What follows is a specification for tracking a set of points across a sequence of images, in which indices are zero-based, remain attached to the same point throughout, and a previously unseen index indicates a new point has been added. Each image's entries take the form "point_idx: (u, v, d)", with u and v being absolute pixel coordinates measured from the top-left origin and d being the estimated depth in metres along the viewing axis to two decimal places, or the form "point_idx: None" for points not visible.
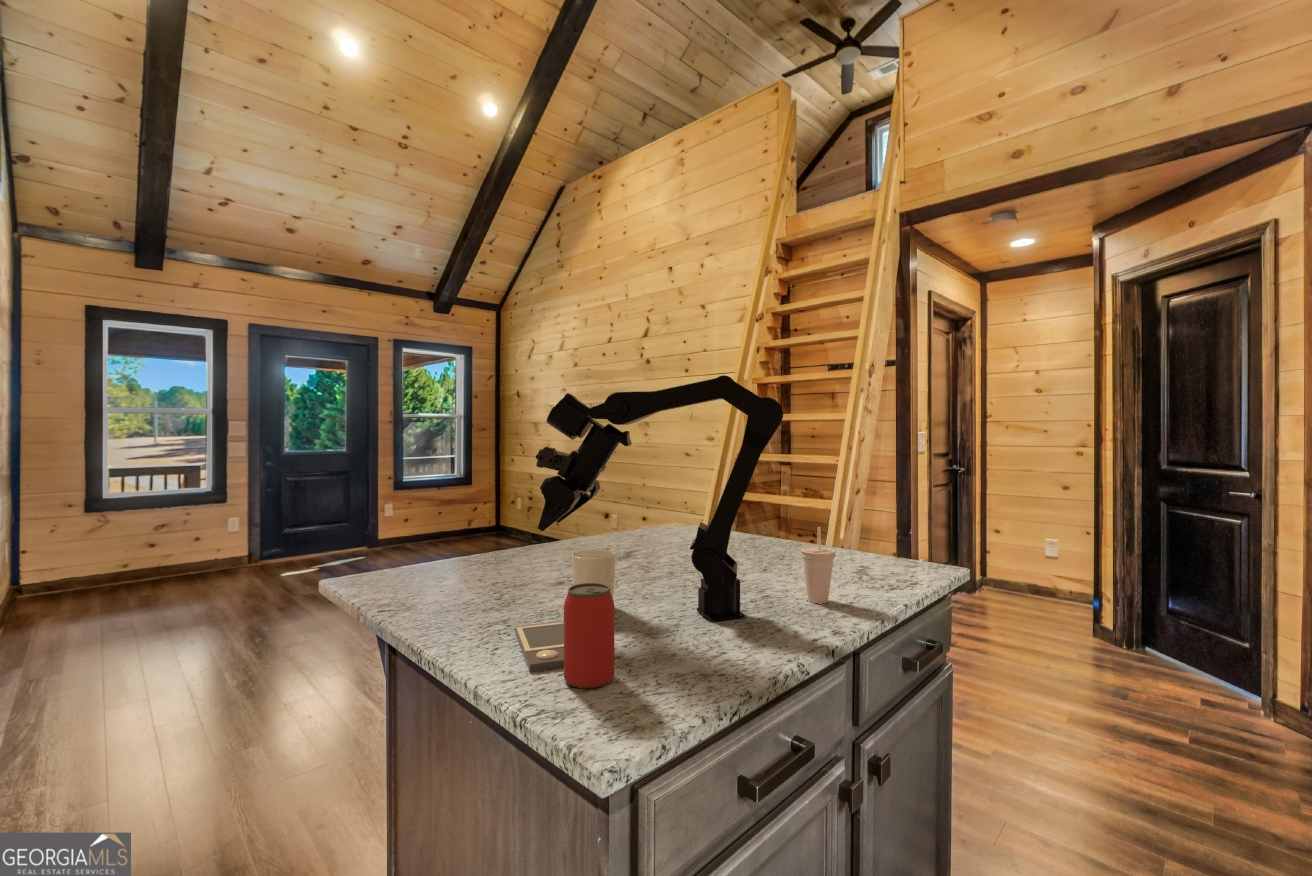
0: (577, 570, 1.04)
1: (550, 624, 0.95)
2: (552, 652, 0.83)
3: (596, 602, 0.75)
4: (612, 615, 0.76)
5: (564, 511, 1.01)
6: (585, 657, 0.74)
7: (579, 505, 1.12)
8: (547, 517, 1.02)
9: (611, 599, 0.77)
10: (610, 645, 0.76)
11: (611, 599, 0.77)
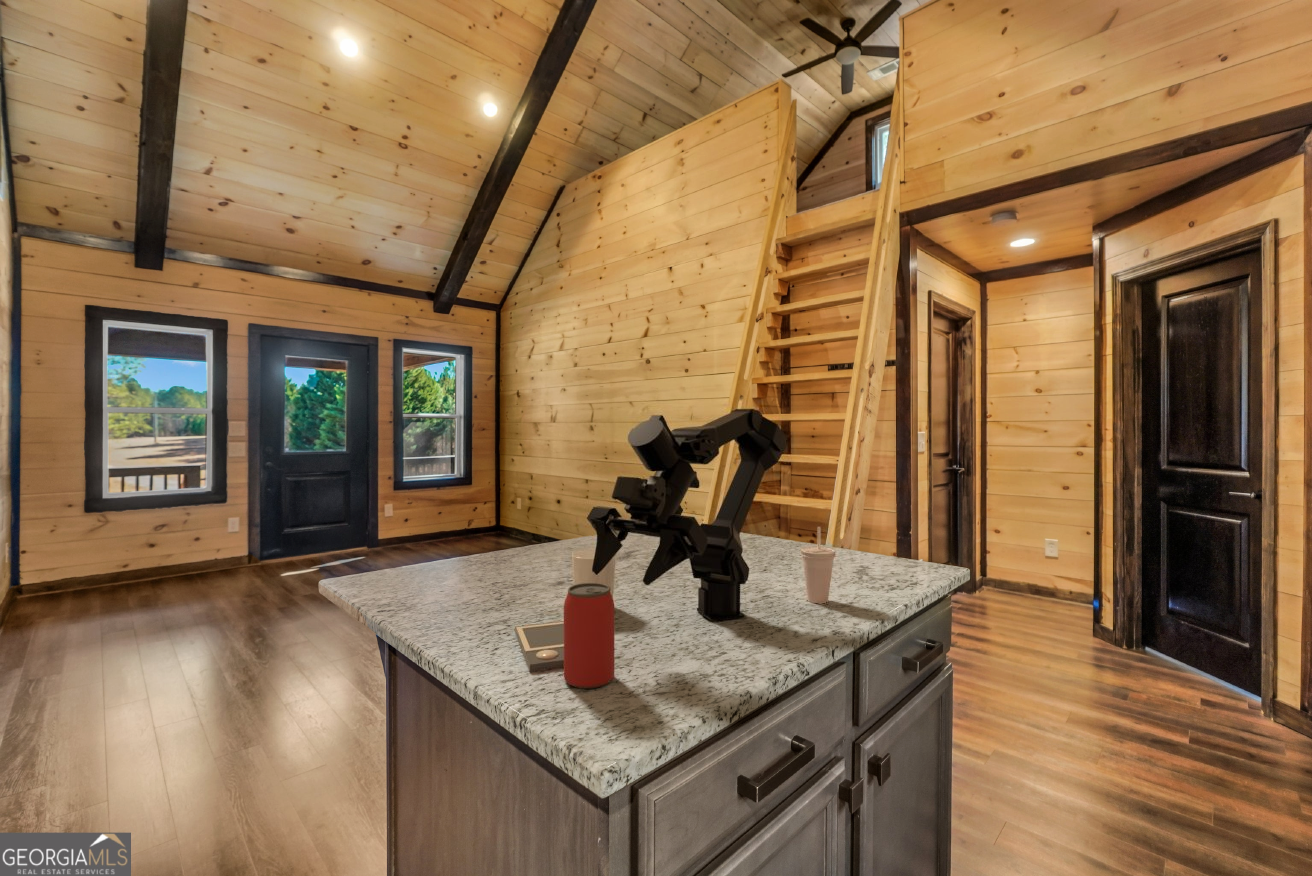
0: (577, 570, 1.04)
1: (550, 624, 0.95)
2: (552, 652, 0.83)
3: (596, 602, 0.75)
4: (612, 615, 0.76)
5: (681, 559, 0.82)
6: (585, 657, 0.74)
7: (615, 552, 0.89)
8: (660, 567, 0.80)
9: (611, 599, 0.77)
10: (610, 645, 0.76)
11: (611, 599, 0.77)
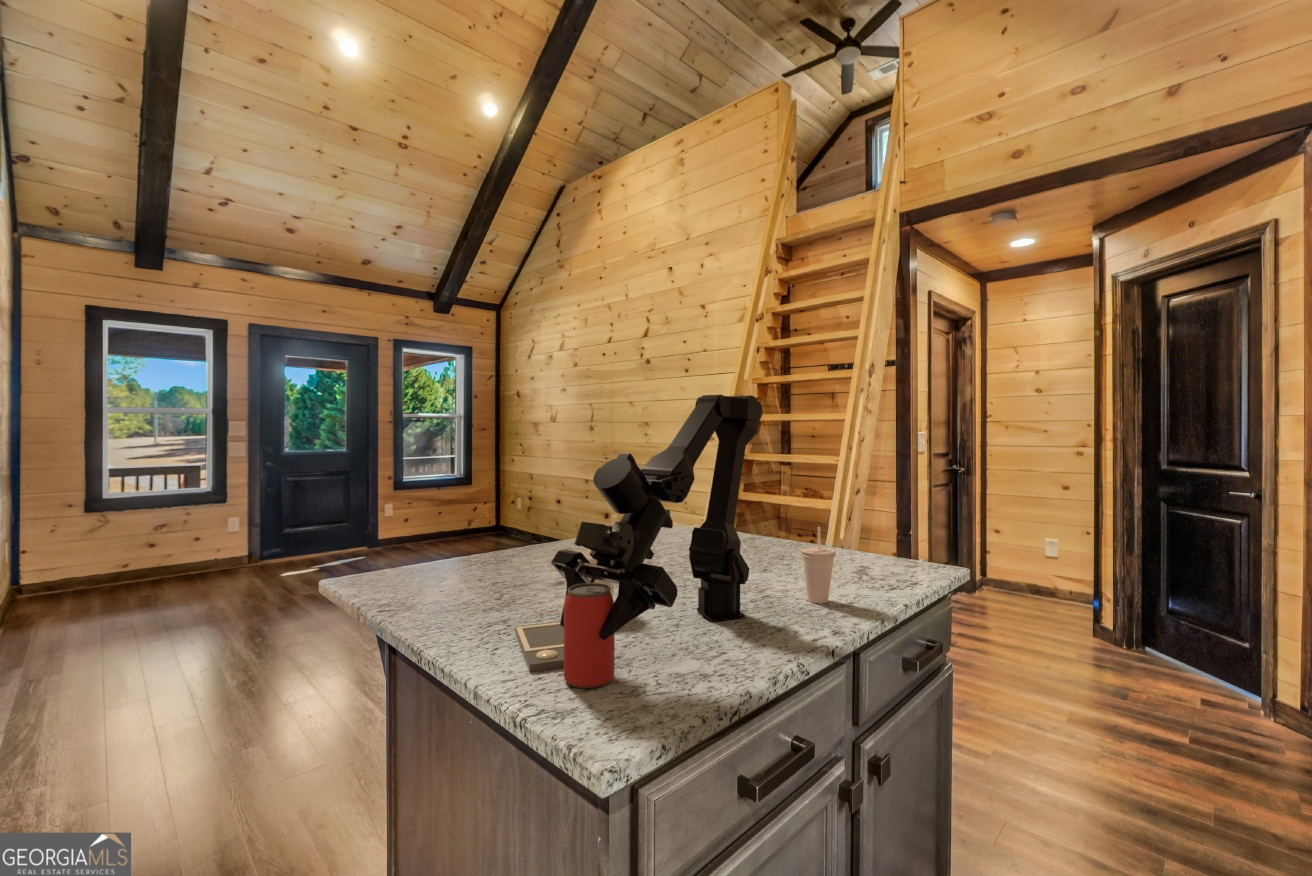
0: None
1: (550, 624, 0.95)
2: (552, 652, 0.83)
3: (596, 601, 0.75)
4: None
5: (642, 610, 0.77)
6: (585, 657, 0.74)
7: None
8: (619, 619, 0.75)
9: (611, 599, 0.77)
10: (610, 645, 0.76)
11: (611, 599, 0.77)
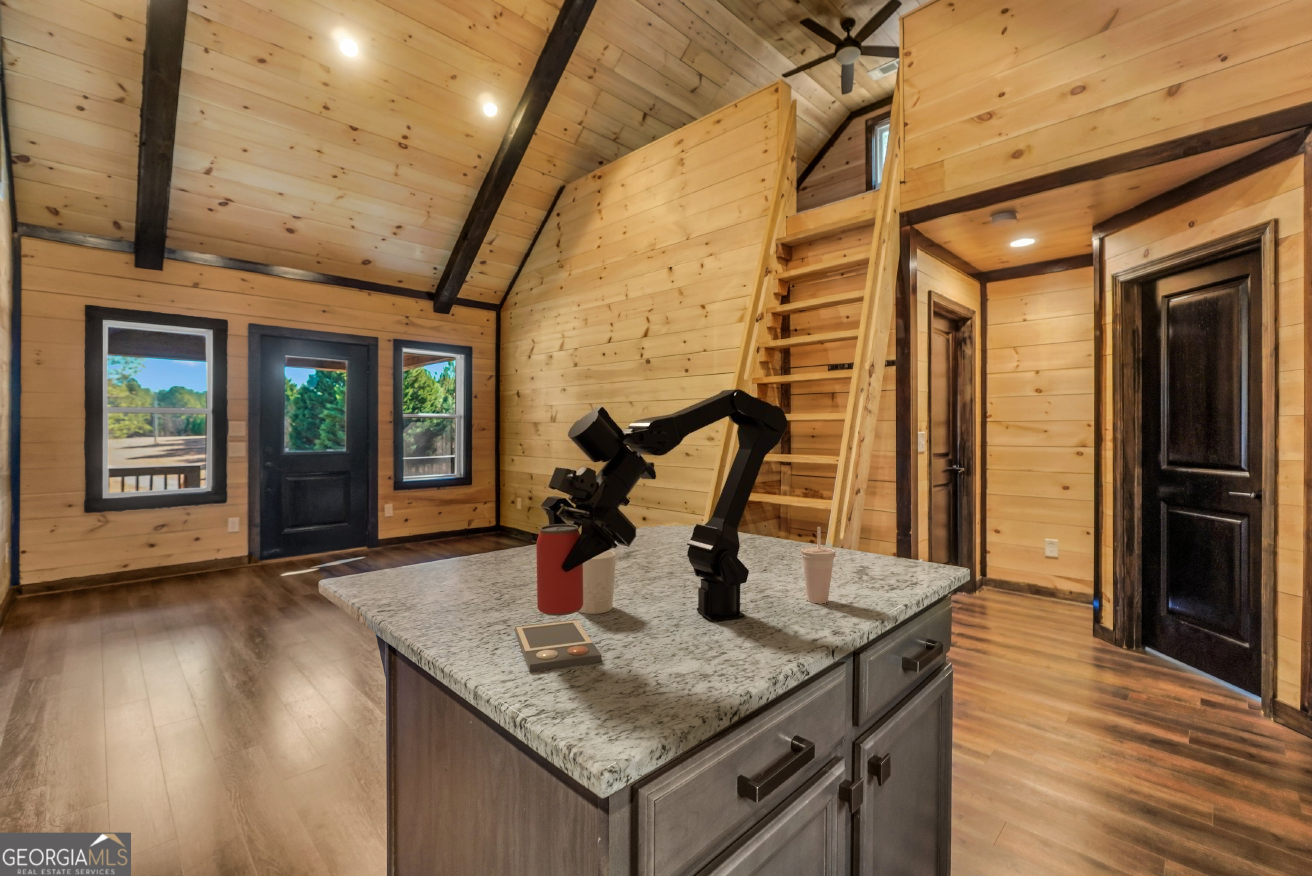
0: None
1: (550, 624, 0.95)
2: (552, 652, 0.83)
3: (559, 538, 0.83)
4: None
5: (605, 548, 0.84)
6: (549, 586, 0.82)
7: None
8: (580, 555, 0.82)
9: (577, 537, 0.84)
10: (575, 579, 0.83)
11: (577, 538, 0.84)
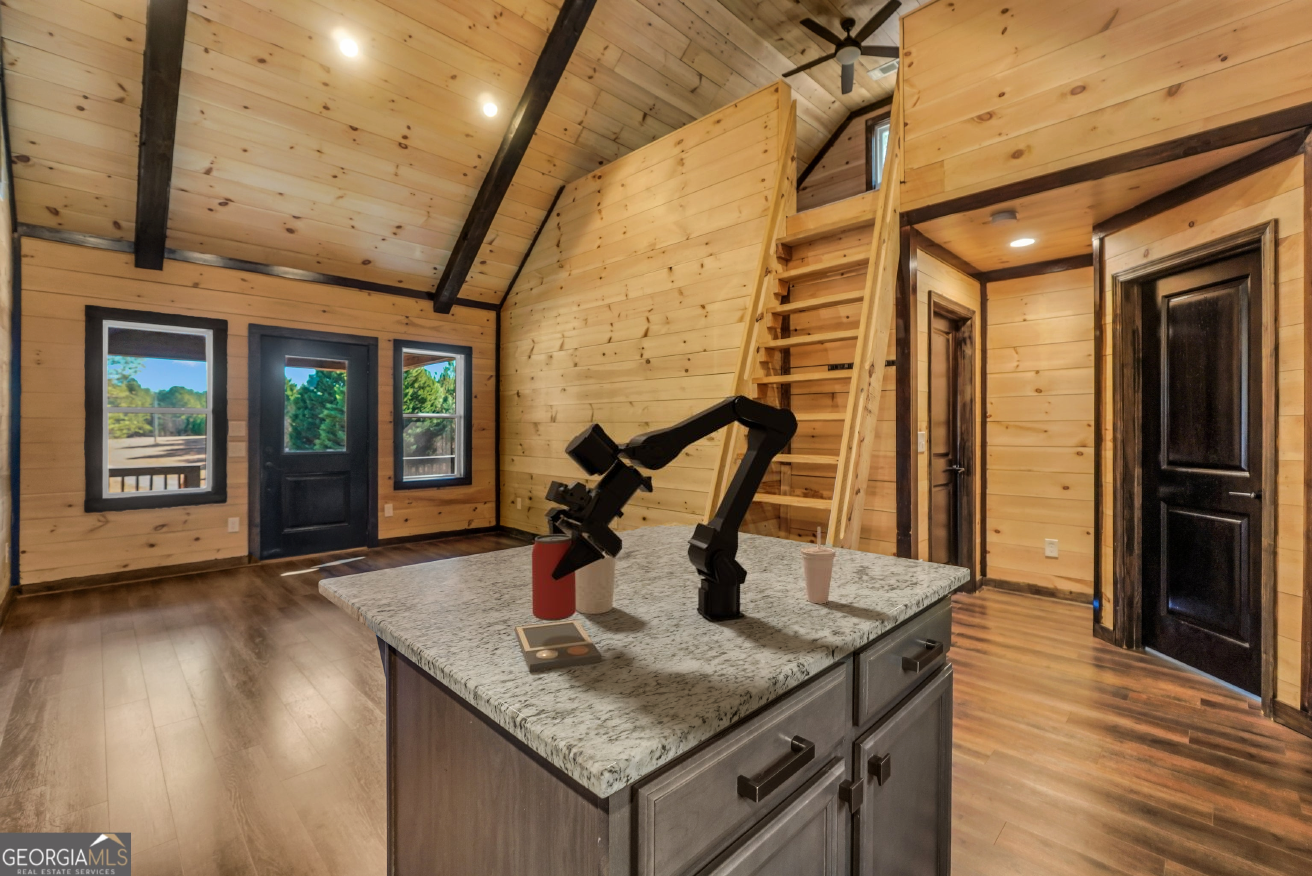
0: (577, 570, 1.04)
1: (550, 624, 0.95)
2: (552, 652, 0.83)
3: (550, 547, 0.88)
4: None
5: (594, 559, 0.88)
6: (541, 593, 0.88)
7: None
8: (569, 564, 0.87)
9: (568, 547, 0.89)
10: (565, 587, 0.88)
11: None
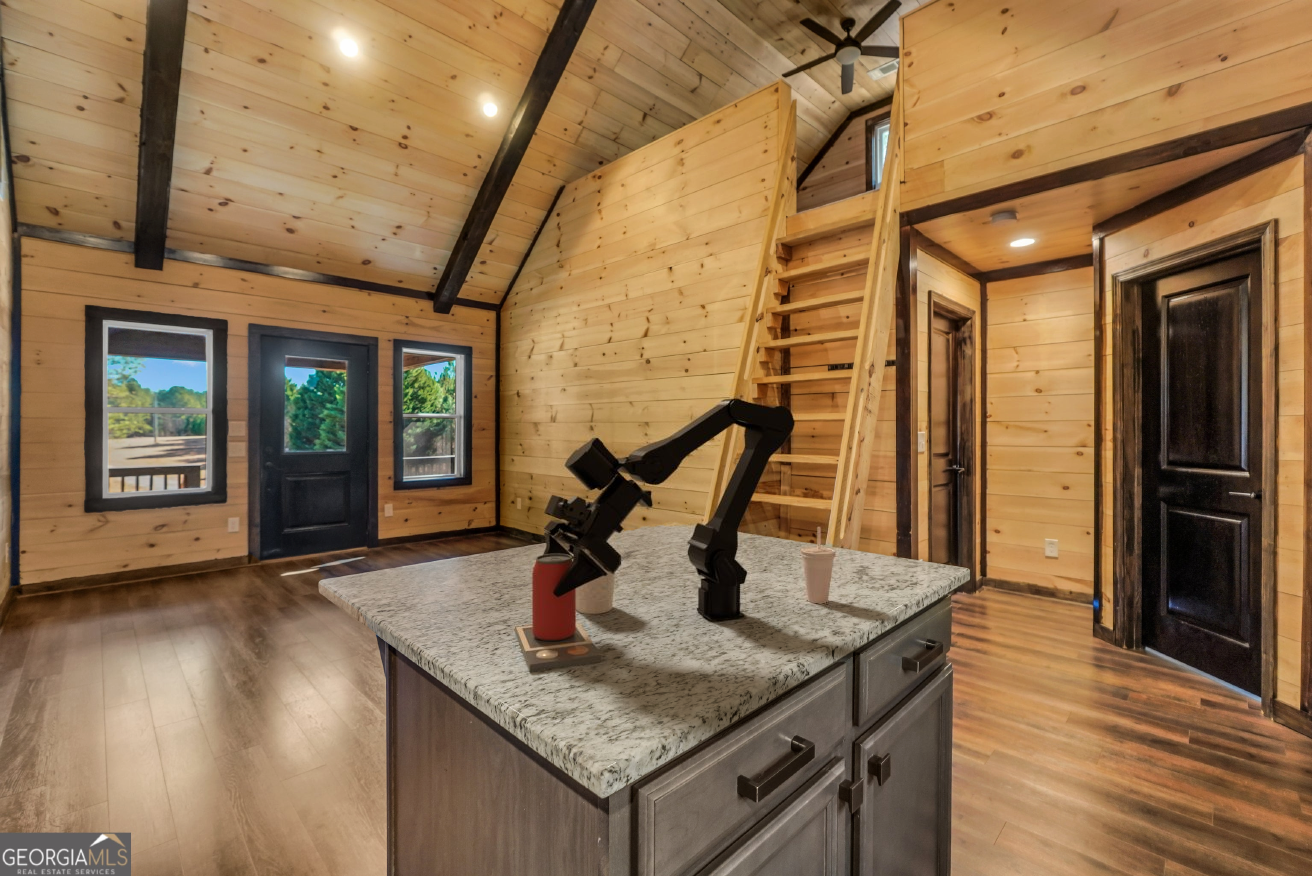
0: None
1: None
2: (552, 652, 0.83)
3: (551, 568, 0.88)
4: None
5: (596, 576, 0.87)
6: (541, 613, 0.88)
7: None
8: (571, 581, 0.86)
9: None
10: (566, 607, 0.88)
11: None
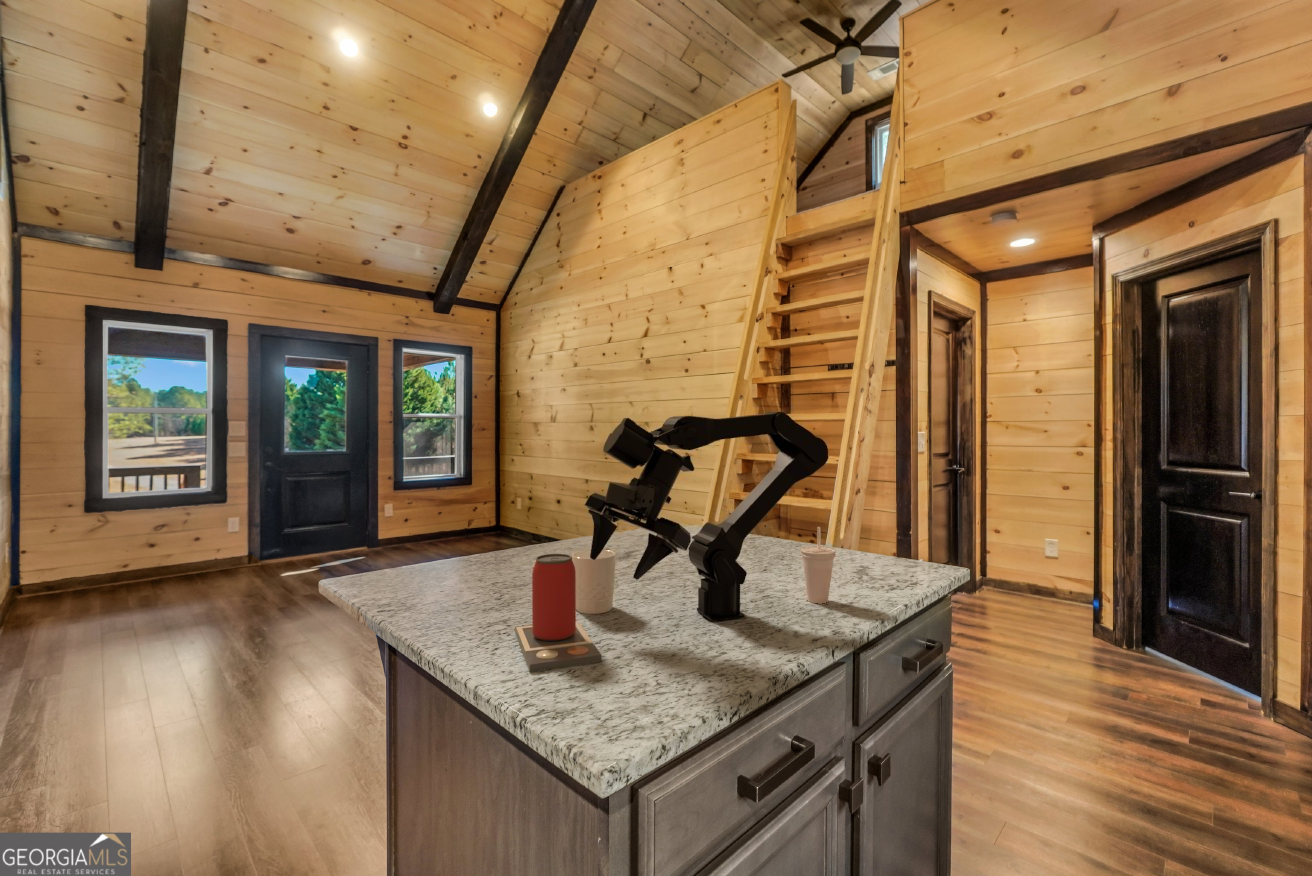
0: (577, 570, 1.04)
1: None
2: (552, 652, 0.83)
3: (551, 568, 0.88)
4: (568, 582, 0.89)
5: (667, 553, 0.94)
6: (541, 613, 0.88)
7: (610, 535, 1.00)
8: (648, 564, 0.92)
9: (569, 568, 0.89)
10: (565, 607, 0.88)
11: (569, 568, 0.89)
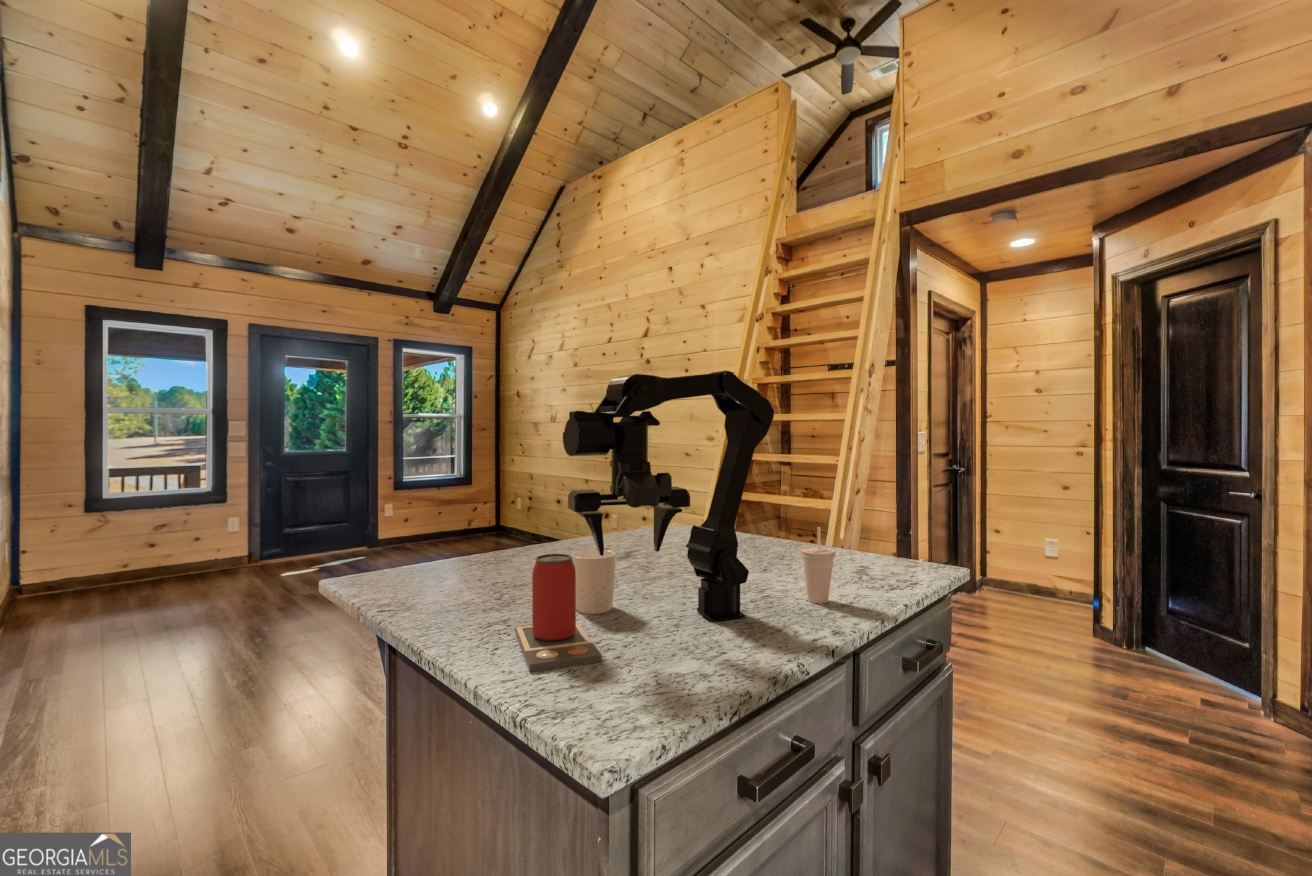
0: (577, 570, 1.04)
1: None
2: (552, 652, 0.83)
3: (551, 568, 0.88)
4: (568, 582, 0.89)
5: None
6: (541, 613, 0.88)
7: None
8: None
9: (569, 568, 0.89)
10: (565, 607, 0.88)
11: (569, 568, 0.89)
